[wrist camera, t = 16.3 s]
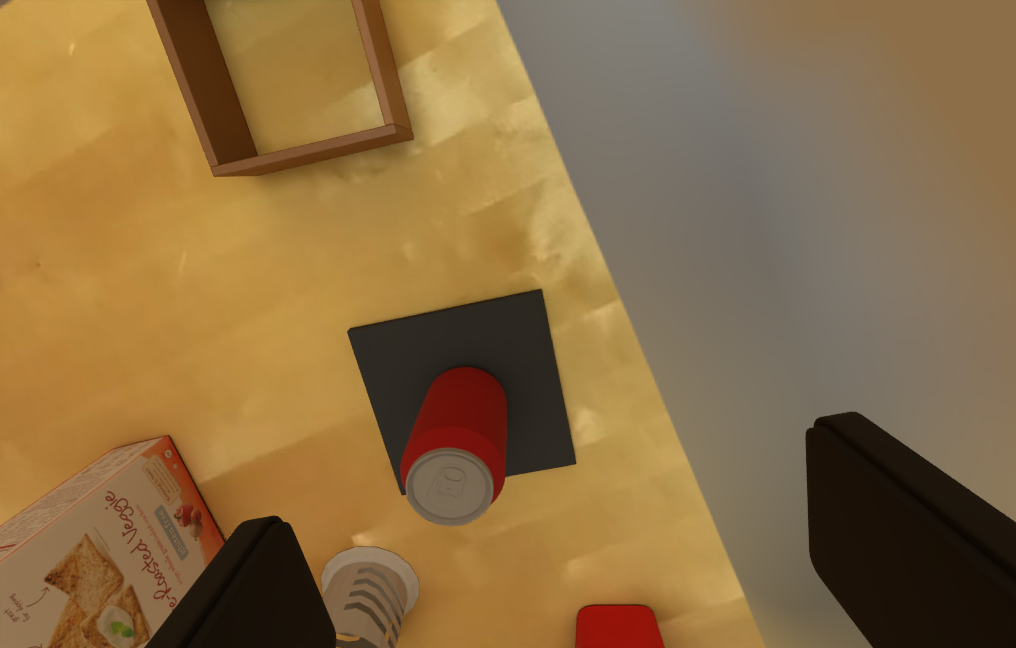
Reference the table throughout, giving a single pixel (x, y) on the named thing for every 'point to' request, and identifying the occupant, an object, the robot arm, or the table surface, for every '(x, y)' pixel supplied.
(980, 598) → the robot arm
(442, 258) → the table surface
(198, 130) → the open box
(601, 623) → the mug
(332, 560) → the french press
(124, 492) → the cracker box
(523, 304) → the mat
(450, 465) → the beverage can
